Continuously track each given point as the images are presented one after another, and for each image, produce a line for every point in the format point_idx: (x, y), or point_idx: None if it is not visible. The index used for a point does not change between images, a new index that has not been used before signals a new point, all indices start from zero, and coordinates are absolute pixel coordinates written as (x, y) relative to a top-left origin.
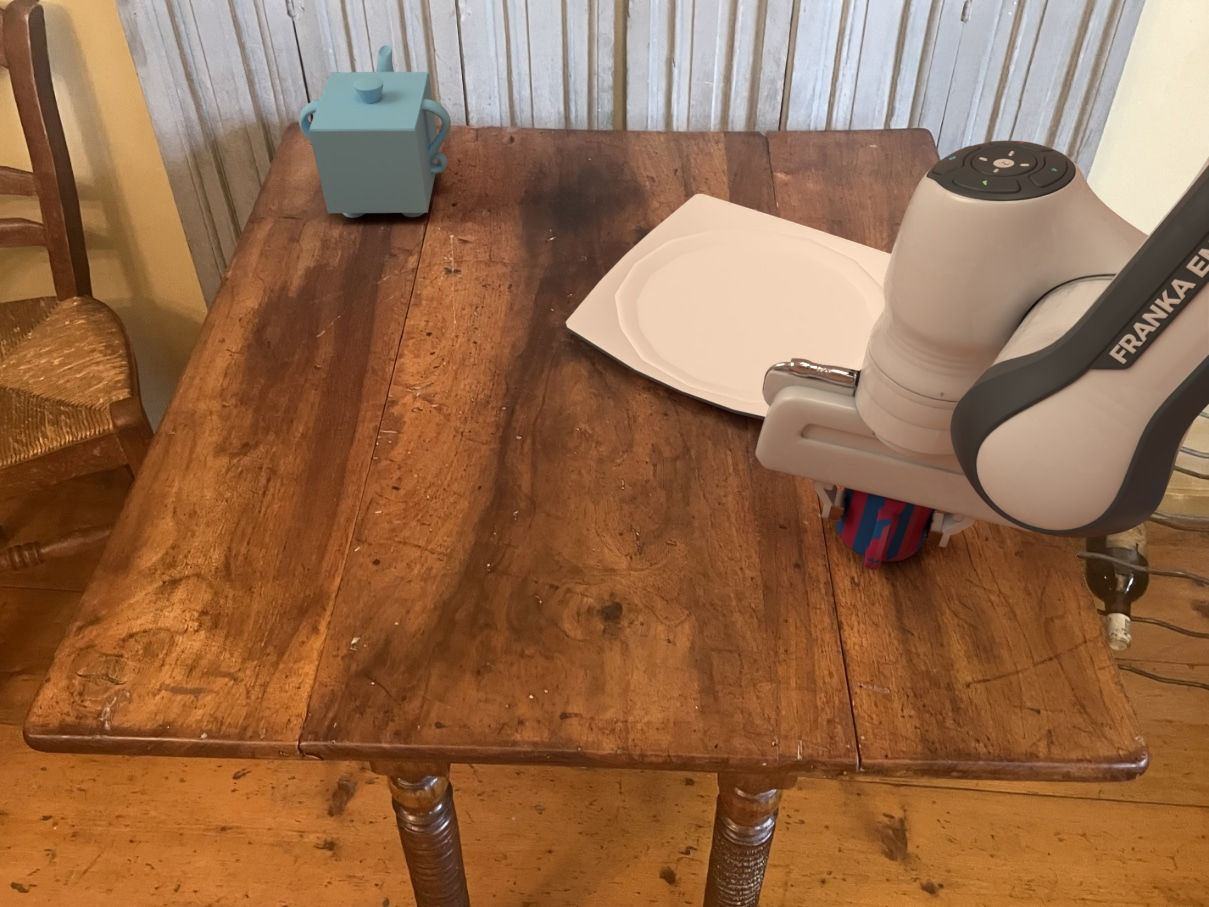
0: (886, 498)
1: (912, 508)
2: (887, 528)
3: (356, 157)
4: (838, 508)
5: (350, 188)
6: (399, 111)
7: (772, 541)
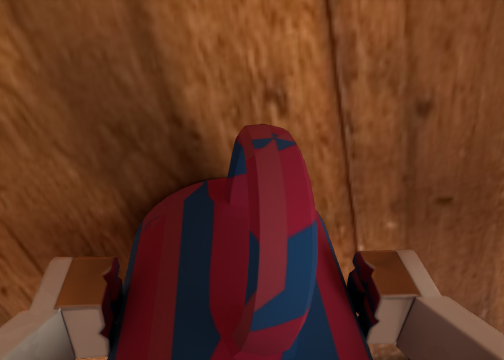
0: None
1: None
2: (264, 290)
3: None
4: (396, 293)
5: None
6: None
7: (474, 159)
